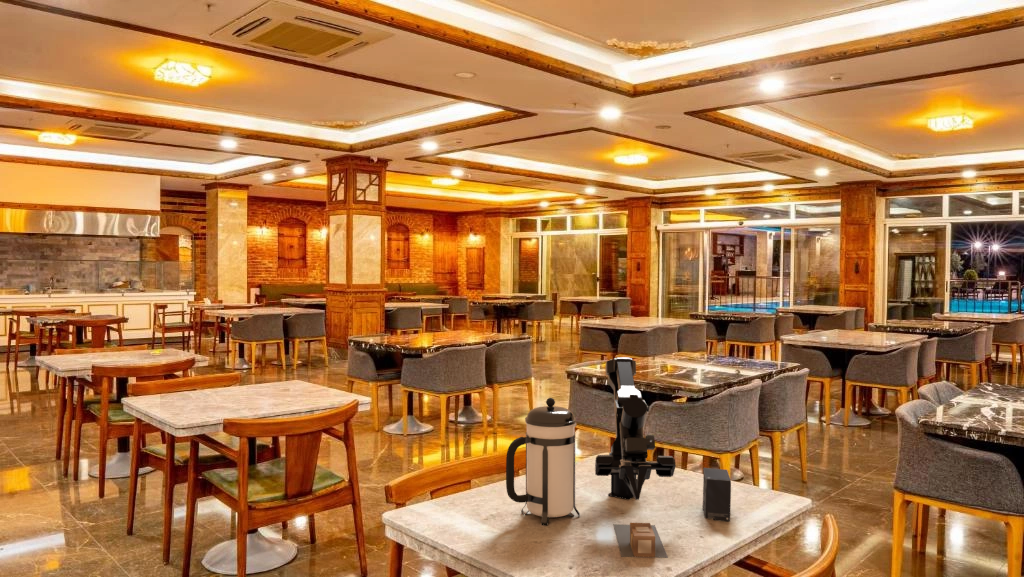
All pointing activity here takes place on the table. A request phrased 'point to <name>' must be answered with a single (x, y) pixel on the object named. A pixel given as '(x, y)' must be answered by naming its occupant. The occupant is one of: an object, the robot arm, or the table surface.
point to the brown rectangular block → (642, 540)
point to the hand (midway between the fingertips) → (637, 499)
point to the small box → (716, 494)
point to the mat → (624, 541)
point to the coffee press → (546, 462)
